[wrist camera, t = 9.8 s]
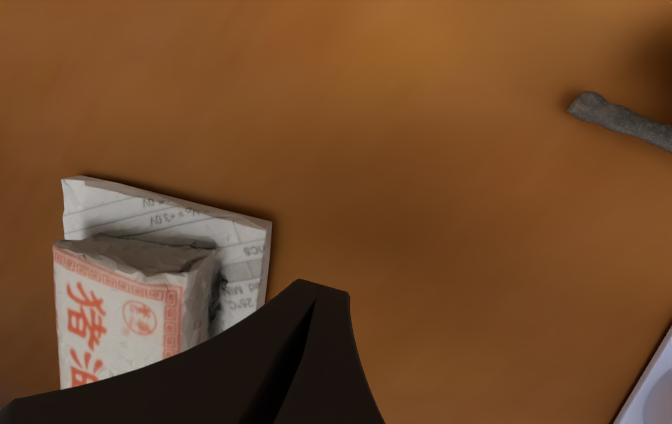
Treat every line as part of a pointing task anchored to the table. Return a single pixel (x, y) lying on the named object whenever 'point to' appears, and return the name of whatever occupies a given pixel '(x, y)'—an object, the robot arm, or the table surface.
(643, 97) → the table surface
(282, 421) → the robot arm
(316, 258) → the table surface
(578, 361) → the table surface
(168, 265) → the packaged product
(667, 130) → the dog figurine
